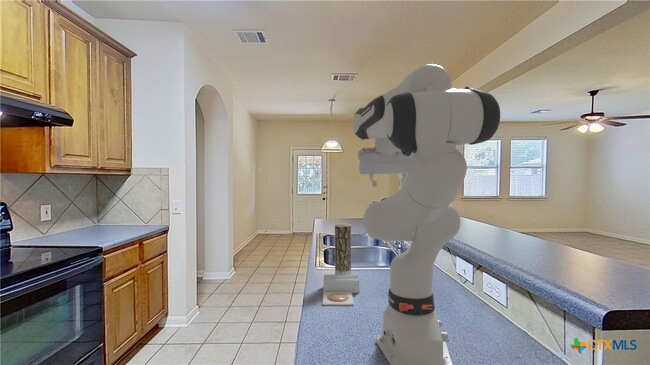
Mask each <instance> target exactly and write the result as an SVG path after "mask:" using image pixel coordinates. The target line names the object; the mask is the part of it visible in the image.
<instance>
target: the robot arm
mask: <svg viewBox="0 0 650 365" xmlns="http://www.w3.org/2000/svg"><path fill="white" fill-rule="evenodd" d="M499 104H500V103H499V102H498V100H496V98H495V96H493V95H492V94H491V93H489V92H486V91H483V90H479V89H475V88H473V87H470V86H468V85H467V86H465V87H464V88H458V89H457V88H454V87H453V83H452V78H451V76H450V74H449V72H448V71H447V70H446V69H445V68H444V67H442V66H441V65H437V64H433V63H431V64H430V63H429V64H423V65H420V66H419V67H417V68H416V69H414V70H412V71H411V72H409V74H408V75H407V76H405V77H404V78H403V80H402V81H401V82H400V83H399V84H398V85H397V86H395V87H394V88H392V89H391V90H388V91H387V92H385V93H383V94H380V95H379V96H377V97H375V98H374V99H372V100H371V101H370V102H369V103H368V104H366V105H365V106H364V107H360V108H358V109H357V111H356V112H355V113H354V114H353V115H354V116H353V118H352V128H353V129H352V130H353V133H354V134H355V136H357V138H359V139H360V140H369V139H374V147H363V148H362V149H360V150H358V153H357V158H358V160H359V166H358V168H359V169H358V172H359V174H361V175H368V178H370V180H371V183H372V185H371V186H372V188H373V187H376V188H377V186H378V185H377V183H378V181H377V180H376V181H375V180H374V179H373V177H374V176H375V175H380V174H383V175H384V174H385V175H386V174H388V175H389V174H391V175H392V174H401V176H402V178H401V179H400V180H398V187H400V189H399V190H398V191H397V192H395V193H393V194H391V195H390V196H389V197H386V198H385V199H384V198H383V199H382V200H380V201H377V202H372V203H370V204H369V205H368V206H367V208H366V209H365V211H364V213H363V219H362V221H363V222H362V224H363V228H364V230H365V232H366V234H367V236H368V237H370V238H371V239H374V240H378V241H379V240H380V241H384V242H411V243H410V246H409V247H408V248H407V249H406V250H405V251H403V252H401V253H399V254H398V255H396V256H395V257H393V259H392V261H391V262H390V265H389V267H390V268H389V269H390V270H389V289H388V293H387V297H388V301H387V302H388V305H387V307H385V309H384V310H383V311H382V327H381V328H382V329H381V334H380V335H377V336H376V337H375V342H376V344H377V346H378V347H379V349H380V351H381V352H382V353H383V356H384V357H385V359H386V361H387V362H388V363H389V365H453V361H452V358H451V356H450V354H451V353H450V351H449V348H448V344H447V342H449V337H448V332H447V331H441V328H440V327H442V326H443V322H442V320H439V318H438V311H437V310H436V308H435V303H436V302H435V297H434V292H433V276H434V275H433V271H434V265H435V261H436V260H437V257H438V254H439V253H440V251H441V250H442V248H444V246H445V245H446V243H448V242H449V241H451V240H452V239H454V238H455V236H456V235H457V234H458V232H459V230H460V227H461V216H460V213H459V211H458V210H457V208H456V206H454V205H453V204H452V202H453V201H454V200H455V198H456V196H457V195H458V193H459V192H460V190H461V188H462V186H463V184H464V181H465V178H466V175H467V170H468V166H467V165H468V164H467V160H466V159H465V157H464V155H463V154H462V152H461V151H460V150H459V149H457V148H456V146H463V145H471V146H472V145H477V144H480V143H484V142H487V141H489V140H491V139H492V138H493V137H494V135H495V133H496V132H497V130H498V128H499V126H500V123H501V108H500V105H499Z"/></svg>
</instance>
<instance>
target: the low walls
mask: <svg viewBox="0 0 650 365" xmlns="http://www.w3.org/2000/svg"><path fill="white" fill-rule="evenodd" d="M323 292H352V294H360V279H359V274H351V275H335V274H323Z"/></svg>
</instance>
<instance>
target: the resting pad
mask: <svg viewBox="0 0 650 365" xmlns="http://www.w3.org/2000/svg"><path fill="white" fill-rule="evenodd" d="M322 295H323V296H322V306H346V307H347V306H351V307H352V306H355V305H354V304H355V303H354V297H353V293H352V292H324V291H323V294H322Z"/></svg>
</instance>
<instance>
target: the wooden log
mask: <svg viewBox="0 0 650 365" xmlns="http://www.w3.org/2000/svg"><path fill="white" fill-rule="evenodd" d="M334 275H352V224H351V223H349V222H338V223H335V224H334Z"/></svg>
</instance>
